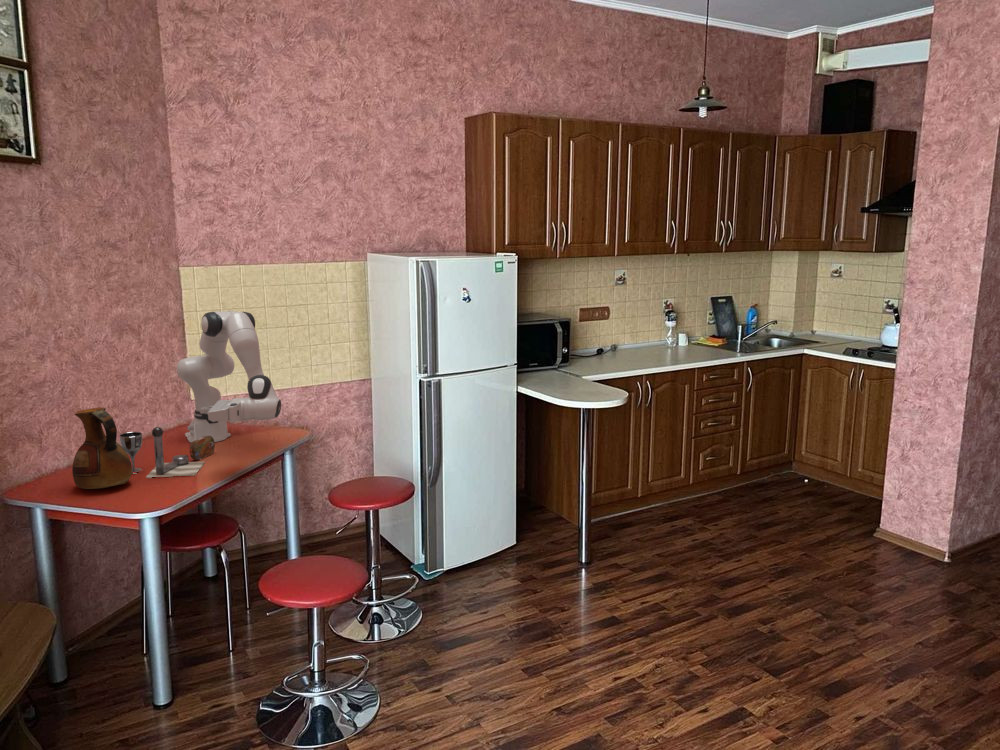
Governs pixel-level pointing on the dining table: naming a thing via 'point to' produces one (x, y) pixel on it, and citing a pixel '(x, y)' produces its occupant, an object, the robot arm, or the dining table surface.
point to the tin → (202, 447)
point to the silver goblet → (131, 445)
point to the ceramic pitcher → (100, 453)
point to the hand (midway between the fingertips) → (200, 410)
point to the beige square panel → (179, 470)
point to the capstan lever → (159, 457)
